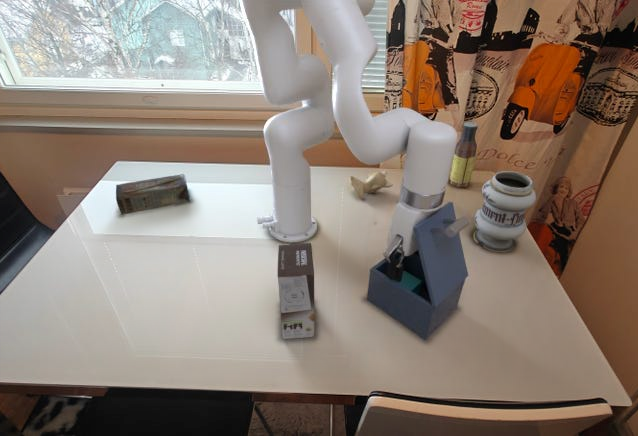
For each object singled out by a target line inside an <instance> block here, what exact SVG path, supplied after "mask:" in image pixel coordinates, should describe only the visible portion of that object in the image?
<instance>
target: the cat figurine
mask: <svg viewBox="0 0 638 436" xmlns="http://www.w3.org/2000/svg"><path fill="white" fill-rule="evenodd" d="M387 174H388V172H387V171H386V170H384V171H375V172H371V173H368V174H367V175H366V179H364V180H361V179H359V178H357V177H355V176H352V175H350V176H349V182H350V185H351V188H352V189H353V191H354V192H355V194H356V195H357V197H358V198H359V199H360V200H364V198H365V193H367V194H371V193H375V192H377V191H379V190H381V189H383V188H384V189H389V188H391V187H393V182H390V181H389V180H387V179H386V177H387Z"/></svg>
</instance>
